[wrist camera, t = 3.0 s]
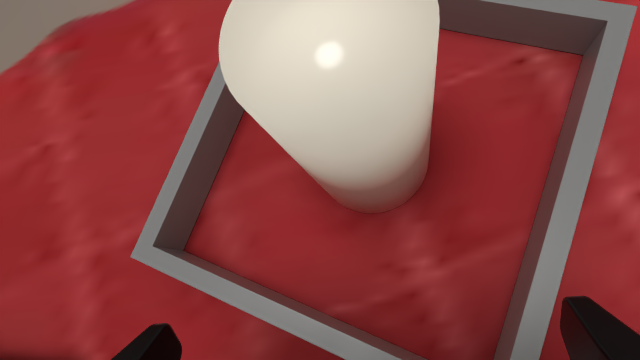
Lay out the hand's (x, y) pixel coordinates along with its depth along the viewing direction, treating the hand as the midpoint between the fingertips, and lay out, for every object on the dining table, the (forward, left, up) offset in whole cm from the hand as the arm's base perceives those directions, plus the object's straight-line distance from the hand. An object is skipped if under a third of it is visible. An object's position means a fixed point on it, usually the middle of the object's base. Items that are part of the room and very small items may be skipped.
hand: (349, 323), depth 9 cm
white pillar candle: (+3, -7, -13) cm, 15 cm away
